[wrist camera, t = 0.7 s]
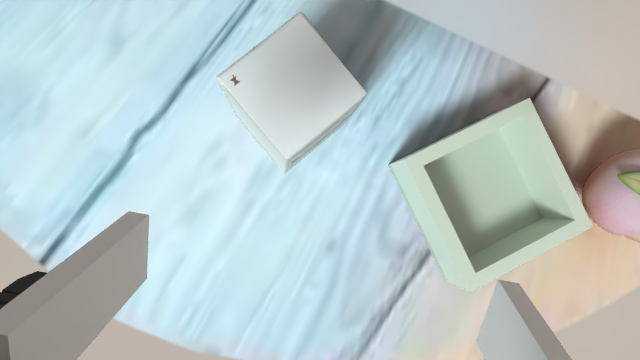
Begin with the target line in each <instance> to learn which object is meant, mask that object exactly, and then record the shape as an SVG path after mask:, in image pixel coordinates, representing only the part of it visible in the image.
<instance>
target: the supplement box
mask: <svg viewBox="0 0 640 360" xmlns="http://www.w3.org/2000/svg"><path fill="white" fill-rule="evenodd" d="M216 80H217V82H218V83H219V85H220V87H221V89H222V91H223V93H224V94H225V96H226V98H227V100H228V102H229V104H230V105H231V107H232V109H233V111H234V113H235V115H236V117H237V118H238V119H239V120H240V122H241V123H242V124H243V125H244V127H245V128H246V129H247V130H248V132H249V133H250V134H251V135H252V137H253V138H254V139H255V140H256V141H257V143H258V144H259V145H260V146H261V148H262V149H263V150H264V151H265V152H266V153H267V155H268V156H269V157H270V158H271V159H272V160H273V162H274V163H275V164H276V165H277V166H278V167H279V169H280V170H281V171H282V172H283V173H287V172H288V171H289V170H290V169H291V168H292V167H293V166H294V165H296V164H297V163H298V162H299V161H300V160H302V159H303V158H304V157H305V156H306V155H308V154H309V153H310V152H311V151H313V150H314V149H315V148H316V147H317V146H319V145H320V144H321V143H322V142H323V141H325V140H326V139H327V138H328V137H329V136H331V135H332V134H333V133H334V132H336V131H337V130H338V129H340V128H341V127H342V125H343V124H344V123H345V122H346V121H347V119H348V118H349V117H350V116H351V114H352V113H353V112H354V111H355V109H356V108H357V107H358V105H359V104H360V103H361V101H362V100H363V99H364V97H365V96H366V95H367V92H366V91H365V90H364V89H363V87H362V86H361V85H360V84H359V82H358V81H357V80H356V79H355V78H354V76H353V75H352V74H351V73H350V72H349V70H348V69H347V68H346V67H345V66H344V64H343V63H342V62H341V60H340V59H339V58H338V57H337V55H336V54H335V53H334V52H333V50H332V49H331V48H330V47H329V45H328V44H327V43H326V41H325V40H324V39H323V38H322V36H321V35H320V34H319V33H318V31H317V30H316V29H315V27H314V26H313V25H312V24H311V22H310V21H309V20H308V19H307V17H306V16H305V15H304V13H302V12H300V13H298V14H296V15H295V16H294V17H292V18H291V19H290V20H288V21H287V22H286V23H285V24H283V25H282V26H281V27H280V28H278V29H277V30H276V31H274V32H273V33H272V34H271V35H269V36H268V37H267V38H266V39H264V40H263V41H261V42H260V43H259V44H257V45H256V46H255V47H253V48H252V49H251V50H250V51H249V52H248V53H246V54H245V55H244V56H243V57H241V58H240V59H239V60H237V61H236V62H235V63H234V64H232V65H231V66H230V67H228V68H227V69H226V70H225V71H223V72H222V73H220V74H219V75H218V76H217V77H216Z"/></svg>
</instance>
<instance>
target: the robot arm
mask: <svg viewBox="0 0 640 360" xmlns="http://www.w3.org/2000/svg"><path fill="white" fill-rule="evenodd" d="M148 229H149V215H146V214H140V213H135V212H127V213H126V214H125V215H123V216H122V217H121V218H120V219H118V220H117V221H116V222H114V223H113V224H112V225H110V226H109V227H108V228H106V229H105V230H104V231H102V232H101V233H100V234H98V235H97V236H96V237H95V238H93V239H92V240H91V241H89V242H88V243H87V244H85V245H84V246H83V247H81V248H80V249H79V250H77V251H76V252H75V253H73V254H72V255H71V256H70V257H68V258H67V259H66V260H64V261H63V262H62V263H60V264H59V265H58V266H56V267H55V268H54V269H52V270H51V271H50V272H48V273H45V272H39V271H37V272H34V273H32V274H30V275H27V276H25V277H22V278H20V279H17V280H16V281H15V282H13V283H12V284H10V285H9V286H8V287H6V288H5V289H3V290H2V292H0V360H77V358H78V357H79V356H80V355H81V354H82V353H83V352H84V350H85V349H86V348H87V347H88V346H89V345H90V344H91V342H92V341H93V340H94V339H95V338H96V337H97V335H98V334H99V333H100V332H101V331H102V330H103V328H104V327H105V326H106V325H107V324H108V323H109V322H110V320H111V319H112V318H113V317H114V316H115V315H116V313H117V312H118V311H119V310H120V309H121V308H122V307H123V305H124V304H125V303H126V302H127V301H128V300H129V298H130V297H131V296H132V295H133V294H134V293H135V292H136V290H137V289H138V288H139V287H140V286H141V285H142V283H143V282H144V281H145V280H146V279H147V259H148ZM477 342H478V345H479V347H480V350H481V352H482V354H483V357H484V359H485V360H572V359H571V358H570V356H569V355H568V353H567V352H566V350H565V349H564V348H563V346H562V345H561V343H560V342H559V340H558V339H557V338H556V336H555V335H554V333H553V332H552V330H551V329H550V328H549V326H548V325H547V323H546V322H545V320H544V319H543V317H542V316H541V315H540V313H539V312H538V310H537V309H536V307H535V306H534V305H533V303H532V302H531V300H530V299H529V297H528V296H527V295H526V293H525V292H524V290H523V289H522V287H521V286H520V285H519V283H514V282H508V281H503V280H498V281H497V284H496V287H495V290H494V293H493V295H492V298H491V301H490V304H489V307H488V309H487V312H486V315H485V318H484V320H483V323H482V326H481V329H480V332H479V334H478V337H477Z"/></svg>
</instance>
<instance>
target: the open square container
mask: <svg viewBox="0 0 640 360" xmlns="http://www.w3.org/2000/svg"><path fill="white" fill-rule="evenodd" d="M388 166H389V168H390V170H391V172H392V174H393V176H394V178H395V180H396V182H397V184H398V186H399V188H400V190H401V192H402V194H403V196H404V198H405V200H406V203H407V205H408V207H409V209H410V211H411V213H412V215H413V217H414V219H415V221H416V223H417V225H418V227H419V229H420V231H421V233H422V235H423V237H424V239H425V242H426V244H427V246H428V248H429V250H430V252H431V254H432V256H433V258H434V260H435V262H436V264H437V266H438V268H439V270H440V272H441V274H442V276H443V279H444V280H445V281H447V282H449V283H451V284H453V285H455V286H457V287H459V288H461V289H463V290H465V291H468V292H472V291H474V290H476V289H477V288H479V287H481V286H483V285H485V284H487V283H489V282H491V281H492V280H494V279H496V278H498V277H500V276H502V275H504V274H505V273H507V272H509V271H511V270H513V269H515V268H517V267H518V266H520V265H522V264H524V263H526V262H528V261H530V260H532V259H533V258H535V257H537V256H539V255H541V254H543V253H545V252H546V251H548V250H550V249H552V248H554V247H556V246H558V245H559V244H561V243H563V242H565V241H567V240H569V239H571V238H573V237H574V236H576V235H578V234H580V233H582V232H584V231H586V230H587V229H589V228H591V227H593V225H592V223H591V221H590V219H589V217H588V215H587V213H586V211H585V209H584V207H583V205H582V203H581V201H580V199H579V197H578V195H577V193H576V191H575V189H574V187H573V185H572V183H571V181H570V179H569V177H568V175H567V173H566V170H565V168H564V166H563V164H562V162H561V160H560V158H559V156H558V154H557V152H556V150H555V148H554V146H553V144H552V142H551V140H550V138H549V136H548V134H547V132H546V130H545V128H544V126H543V124H542V122H541V120H540V118H539V116H538V113H537V111H536V109H535V107H534V105H533V103H532V101H531V99H530V98H528V99H525V100H523V101H521V102H518V103H516V104H514V105H511V106H509V107H507V108H504V109H502V110H499V111H497V112H495V113H493V114H491V115H489V116H487V117H485V118H483V119H481V120H479V121H477V122H475V123H473V124H471V125H468V126H466V127H464V128H462V129H460V130H458V131H456V132H454V133H452V134H450V135H448V136H446V137H444V138H442V139H440V140H438V141H436V142H434V143H432V144H430V145H428V146H426V147H423V148H421V149H419V150H417V151H415V152H413V153H411V154H409V155H407V156H405V157H403V158H401V159H399V160H397V161H395V162H393V163H391V164H389V165H388Z"/></svg>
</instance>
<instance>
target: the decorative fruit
mask: <svg viewBox="0 0 640 360" xmlns="http://www.w3.org/2000/svg"><path fill="white" fill-rule="evenodd" d="M582 202H583V206H584V208H585V211H586V212H587V214H588V215H589V217H590V218H591V219H592V220H593V221H594V222H595V223H596V224H597V225H598V226H599V227H601V228H602V229H604V230H605V231H607V232H610V233H612V234H616V235H622V236H625V237H627V238H630V239H632V240H634V241H637V242H640V149H633V150H628V151H624V152H621V153H618V154H616V155H614V156H612V157H610V158H608V159H607V160H605V161H604V162H603V163H601V164H600V165H599V166H598V167H597V168H596V169H595V170H594V171H593V172H592V173H591V175H590V176H589V177H588V179H587V180H586V182H585V184H584V187H583V190H582Z"/></svg>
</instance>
